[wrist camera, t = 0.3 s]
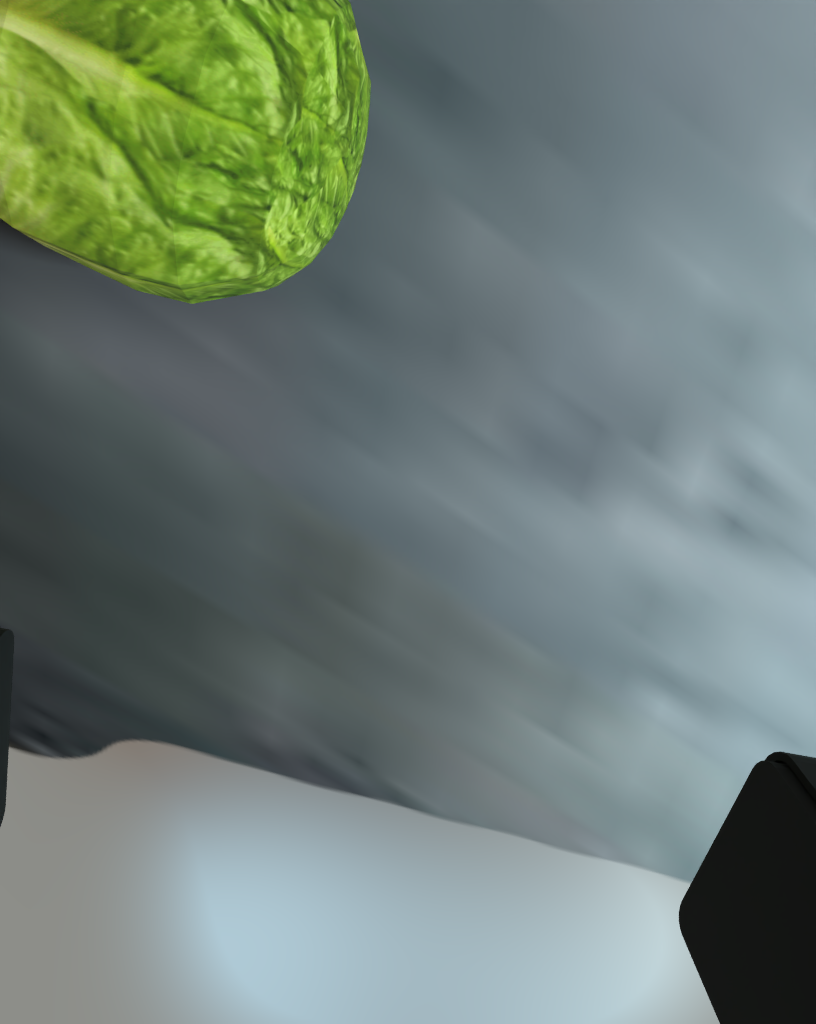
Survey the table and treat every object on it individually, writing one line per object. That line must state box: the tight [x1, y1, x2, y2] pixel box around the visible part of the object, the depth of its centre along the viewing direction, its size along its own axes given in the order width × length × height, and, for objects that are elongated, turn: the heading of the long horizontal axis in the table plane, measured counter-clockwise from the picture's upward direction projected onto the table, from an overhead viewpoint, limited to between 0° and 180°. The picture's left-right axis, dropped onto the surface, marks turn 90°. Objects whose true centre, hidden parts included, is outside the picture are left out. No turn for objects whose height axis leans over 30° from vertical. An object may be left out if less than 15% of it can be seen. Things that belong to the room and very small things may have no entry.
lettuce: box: [0, 0, 371, 304], centre depth 28 cm, size 13×22×14 cm
